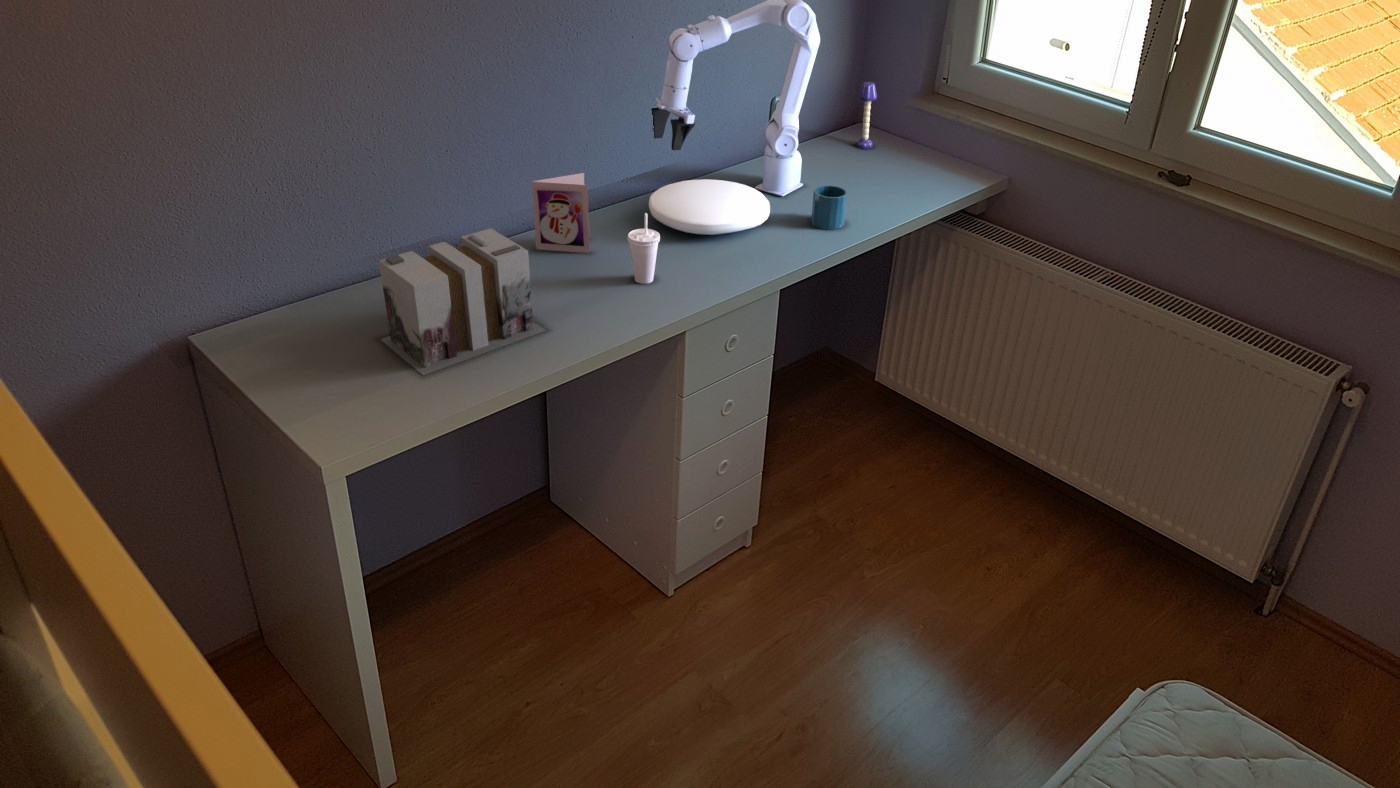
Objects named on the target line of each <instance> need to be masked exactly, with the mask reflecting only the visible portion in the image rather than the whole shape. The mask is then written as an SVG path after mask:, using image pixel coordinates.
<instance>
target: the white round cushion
mask: <svg viewBox="0 0 1400 788" xmlns="http://www.w3.org/2000/svg"><path fill="white" fill-rule="evenodd" d="M648 209H649V212H650V215H651V216H652V217H653V218H654V219H655V220H656V221H657V222H659V223H661V224H663V225H665V226H667V227H669V228H671V229H674V230H677V231H681V232H684V233H690V234H695V235H708V236H709V235H710V236H714V235H723V234H730V233H737V232H742V231H746V230H749V229H753V228H756V227H758V226H761V225H762V224H763V223H764V222H765V221H767V220H768V218H769V217H770V214H771V203H770V200H768V198H767V197H766V196H765V195H764V194H763V193H762V192H761V191H760V190H758V189H755V187H754V188H753V187H751V186H749V185H746V184H744V183H739V182H735V181H731V180H730V181H729V180H721V179H710V178H709V179H706V178H705V179H704V178H703V179H689V180H688V179H687V180H682V181H677V182H674V183H669V184H667V185H663V186H661V187H659V188H658V189H657V190H655V191H654V192H652V193H651V195H650V196H649V200H648Z"/></svg>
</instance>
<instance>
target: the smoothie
mask: <svg viewBox="0 0 1400 788" xmlns="http://www.w3.org/2000/svg"><path fill="white" fill-rule="evenodd" d="M643 214H644V215H643V216H644V228H636V229H633V230H631V231H629V232H628V233H627V242H628V243H629V249H630V255H631V262H632V270H633V276H634V281H635V282H636V283H637V284H642V285H643V284H650V283H652V282H653V281H654V277H655V270H656V261H657V256H658V248H659V243H660V241H661V235H660V233H659V232H658V231H656V230H654V229H651V228H648V213H647V212H644V213H643Z"/></svg>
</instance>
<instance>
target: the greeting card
mask: <svg viewBox="0 0 1400 788" xmlns="http://www.w3.org/2000/svg"><path fill="white" fill-rule="evenodd" d="M531 188H532V190H531V191H532V204H533V205H532V206H533V219H534V234H535V235H534V236H535V249H536V250H542V251H555V252H556V251H557V252H568V253H569V252H570V253H581V254H582V253H584V254H585V253H586V254H591V251H590V250H591V249H590V224H589V219H590V218H589V192H588V191H589V190H588V185H587V184H585V172H580V173H574V174H568V175H561V176H556V177H550V178H544V179H537V180H531Z"/></svg>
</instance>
